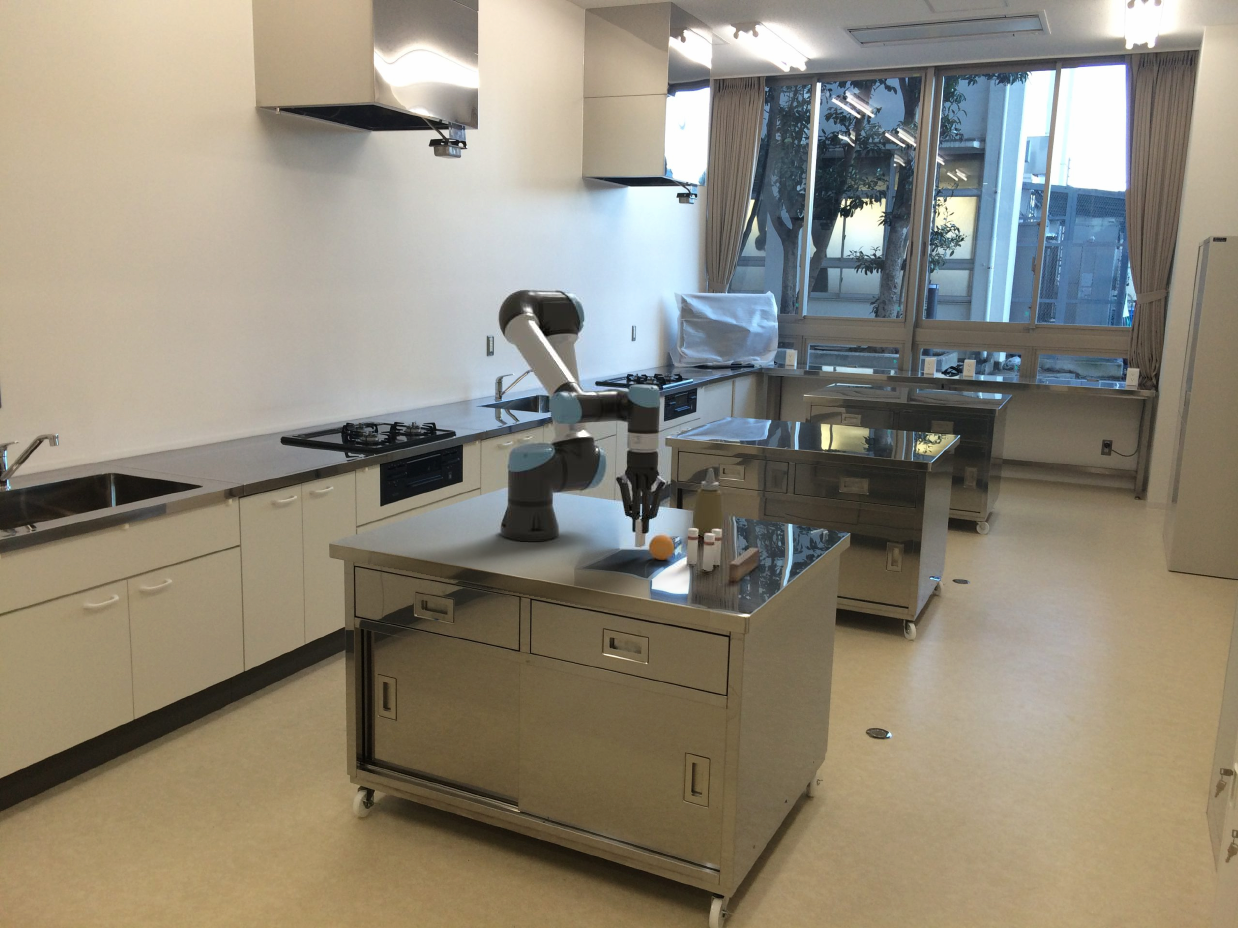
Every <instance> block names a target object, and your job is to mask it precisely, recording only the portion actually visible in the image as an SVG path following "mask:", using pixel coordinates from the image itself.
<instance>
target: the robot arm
mask: <svg viewBox="0 0 1238 928" xmlns="http://www.w3.org/2000/svg"><path fill="white" fill-rule="evenodd" d="M584 322H585V311H584V308H583V304H582V303H581V301H580V299H579V298H578V296H576V295H575V294H574V293H572V292H569V291H563V290H557V289H556V290H535V289H534V290H533V289H532V290H530V289H520V290H517V291H515V292H512V293H510V294H509V295H508V296H507V297H506V298H505V299H504V301H502V304H501V306H500V308H499V311H498V326H499V329H500V332H501V333H502V336H504V338H505V340H506V341H507V342H508V343H509V344H511V345H513V346H515V347H516V349H517V350H518V351H519V353H520V354H521V356H522V358H523V359H524V360H525V363H527V365H528V366H529V368H530V369H531V371H532V373H533V374H534V375H535V377H536V379H538V381H539V382H540V384H541V385H542V387H543V388H544V390H545V391H546V393H547V394H548V397H549V398H548V399H549V403H548V408H549V409H548V410H549V412H550V417H551V419H552V424H553V425H552V426H553V430H554V438H553V439H552V441H550V443H546V442H537V443H535V442H532V443H525V444H521V445H518V446H516V447H514V448H512V449H511V450H510V452H509V454H508V463H507V470H508V472H507V475H508V476H507V506H506V509H505V512H504V515H503V518H502V521H501V524H500V532H499V533H500V536H502V538H505V539H507V540H513V541H519V542H542V541H549V540H554V539H556V538H557V537H559V535H560V527H559V523H558V519H557V516H556V512H555V509H554V494H555V493H567V492H577V491H580V492H582V491H585V490H590V489H595V488H596V487H597V488H598V486H599V485H600V484H601V483H602V481H603V480H604V477H605V474H606V472H607V457H606V453H605V451H604V450H603V447H601V446H600V445H597V444H595V438H594V436H593V435H592V434H590V433H589V432H588V429H587V423H601V422H602V423H603V422H605V423H606V422H622V423H623V422H624V423H627V428H626V429H627V436H626V437H627V439H626V440H627V441H626V442H627V443H626V447H627V448H628V450H627V451H626V469H625V471H624V473H623V474H622V475H619V476H616V477H615V481H616V483H617V484H618V486H619V489H620V495H621V500H622V505H623V511H624V514H625V516H626V517H629V518H631V521H632V523H631V524H632V525H631V526H632V528H631V532H632V533H635V534H634V535H635V536H634V547H635V548H643V547H645V546H646V534H648V533H649V531H650V520H653V519H655V518H657V516H658V513H659V509H660V505H661V502H662V498H663V495H664V490H665V488H666V487H667V486H668V484H669V481H668V480H667V479H663V478H662V477H661V476H660V472H659V469H658V468H659V451H658V449H659V444H660V442H659V441H660V439H659V438H660V437H659V435H660V433H659V431H660V413H661V412H660V411H661V410H660V409H661V396H660V388H659V387H658V385H655V384H632V385H631V384H630V386H629V387H628V390H621V389H618V388H613V389H612V388H605V389H603V390H588V391H587V390H586V391H585V390H584V389H583V388H582V387H581V383H580V378H579V377H580V376H579V371H578V369H579V368H578V363H577V356H576V350H575V343H576V342H577V341H578V339H579V338H580V337H579V333H581V332H582V330H583V329H584ZM628 482H629V483H630V485H631V490H630V487H629V486H630V485H629V483H628ZM654 484H655V486H656V487H655V489H654V493H653V497H652V496H651V494H652V490H653V489H652V487H653V485H654ZM631 493H632V494H631ZM651 497H652V500H651Z"/></svg>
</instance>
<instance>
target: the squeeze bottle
mask: <svg viewBox="0 0 1238 928" xmlns="http://www.w3.org/2000/svg"><path fill="white" fill-rule="evenodd" d="M714 473H715V471H714V469H713V468H708V471H707V473H706V477H705V480H704V481H703V480H702V481H701V483H700V485H701V486H700V489H699V490H697V492H696V499H695V505H694V510H693V518H692V523H693V526H694V527H693V528H696V529H698V535H700V536H699V537H701V536H704V534H706V533H712V529H721V530H722V527H723V525H724V515H723V512H724V511H723V493H722V492H721V490H719V489H720V487H719V486H720V483H719V482H717V481H716V480H715V474H714Z"/></svg>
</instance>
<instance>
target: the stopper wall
mask: <svg viewBox="0 0 1238 928" xmlns="http://www.w3.org/2000/svg"><path fill="white" fill-rule="evenodd" d="M759 551H760V549H759V548H757V547H750V548H748V549H747V550H746V551H744V552H743V553H742V554H740V555H739V556H738V557H736V558H735V559H734V560H733V561H731V562H730V563H729V572H728V574H729V575H728V581H729V582H730V581H731V582H739V581H740V580H741V579H743V578H744V577H746V576H747V574H749V573H750V572H751V571H752V570H754V569H755V568H756V567H757V566H758V565H759Z"/></svg>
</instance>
